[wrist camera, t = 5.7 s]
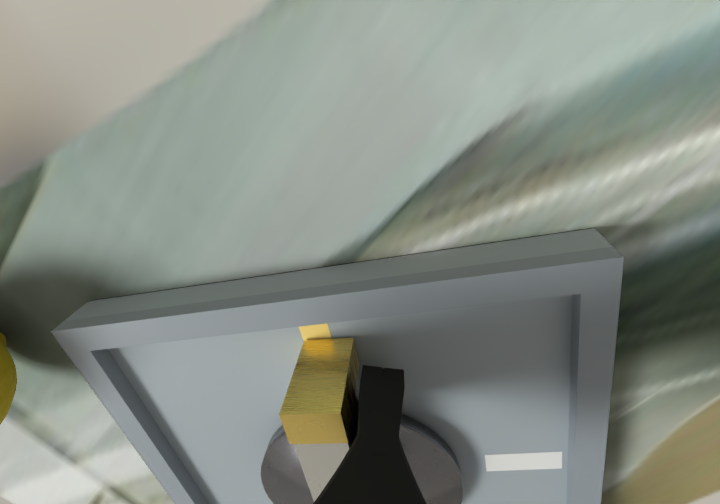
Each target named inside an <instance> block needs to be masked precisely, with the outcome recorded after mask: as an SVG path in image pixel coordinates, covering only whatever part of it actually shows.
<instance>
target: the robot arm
mask: <svg viewBox="0 0 720 504" xmlns="http://www.w3.org/2000/svg"><path fill="white" fill-rule="evenodd" d="M404 389H405V384H404V370H402V369H393V368H382V367H376V366H367V365H363V367H362V373H361V379H360V389H359V404H358V419H357V435H356V437H355V439H354V441H353V443H352V445H351V447H350V448H349V450H348V452H347V454H346V455H345V457H344V459H343V460H342V462H341V464H340V465H339V467H338V468H337V470H336V471H335V473H334V475H333V476H332V477H331V479H330V480H329V482H328V483H327V485H326V486H325V488H324V489H323V491H322V492H321V493H320V495H319V496H318V498H317V499H316V500H315V502H314V503H313V504H427V503H426V501H425V499H424V497H423V495H422V493H421V491H420V488H419V486H418V484H417V482H416V479H415V477H414V475H413V473H412V470H411V468H410V465H409V463H408V460H407V458H406V455H405V452H404V450H403V447H402V444H401V441H400V438H399V430H400V422H401V414H402V406H403V397H404Z"/></svg>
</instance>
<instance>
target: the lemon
mask: <svg viewBox="0 0 720 504" xmlns="http://www.w3.org/2000/svg"><path fill="white" fill-rule="evenodd" d="M16 384H17V376H16V368H15V364H14V362H13V359H12V357H11V355H10V353H9V352H8V350H7V349H6V337H5V336H4V335H3V334H2V333H1V332H0V424H1V423H2V421H3V420H4V418H5V417H6V415H7V413H8V411H9V409H10V406H11V403H12V400H13V397H14V394H15V391H16Z"/></svg>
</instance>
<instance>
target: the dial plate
mask: <svg viewBox="0 0 720 504" xmlns="http://www.w3.org/2000/svg"><path fill="white" fill-rule="evenodd" d="M623 264H624V256H623V255H621V254H620V253H619V252H618V251H617V250H616V249H615V248H614V247H613V246H612V245H611V244H610V243H609V242H608V241H607V240H606V239H605V238H604V237H603V236H602V235H601V234H600V233H599V232H598V231H597V230H596V229H595V228H592V229H585V230H578V231H571V232H564V233H557V234H551V235H544V236H537V237H530V238H523V239H516V240H509V241H502V242H495V243H488V244H482V245H475V246H468V247H461V248H454V249H447V250H440V251H433V252H426V253H419V254H412V255H406V256H399V257H392V258H385V259H378V260H371V261H364V262H357V263H350V264H343V265H336V266H330V267H323V268H316V269H309V270H302V271H295V272H288V273H281V274H274V275H267V276H261V277H254V278H247V279H240V280H233V281H226V282H219V283H212V284H205V285H198V286H191V287H185V288H178V289H171V290H164V291H157V292H150V293H143V294H136V295H129V296H122V297H116V298H109V299H102V300H95V301H88V302H87V303H85V304H84V305H83V306H82V307H80V308H79V309H78V310H77V311H75V312H74V313H73V314H72V315H70V316H69V317H68V318H67V319H66V320H64V321H63V322H62V323H61V324H59V325H58V326H57V327H56V328H54V329H53V330H52V331H51V333H52V335H53V336H54V337H55V339H56V340H57V342H58V343H59V344H60V346H61V347H62V348H63V350H64V351H65V353H66V354H67V355H68V357H69V358H70V359H71V361H72V362H73V364H74V365H75V366H76V368H77V369H78V371H79V372H80V373H81V375H82V376H83V377H84V379H85V380H86V382H87V383H88V384H89V386H90V387H91V389H92V390H93V391H94V393H95V394H96V395H97V397H98V398H99V400H100V401H101V402H102V404H103V405H104V407H105V408H106V409H107V411H108V412H109V413H110V415H111V416H112V418H113V419H114V420H115V422H116V423H117V425H118V426H119V427H120V429H121V430H122V431H123V433H124V434H125V436H126V437H127V438H128V440H129V441H130V443H131V444H132V445H133V447H134V448H135V449H136V451H137V452H138V454H139V455H140V456H141V458H142V459H143V461H144V462H145V463H146V465H147V466H148V467H149V469H150V470H151V472H152V473H153V474H154V476H155V477H156V479H157V480H158V481H159V483H160V484H161V485H162V487H163V488H164V490H165V491H166V492H167V494H168V495H169V497H170V498H171V499H172V501H173V502H174V503H175V504H273V502H272V501H271V500H270V499H269V497H268V495H267V494H266V492H265V490H264V487H263V484H262V481H261V465H262V462H263V458H264V455H265V452H266V450H267V447H268V444H269V441H270V439H271V438H272V436H273V434H274V433H275V432H276V431H277V430H278V428H279V427H281V426H282V422H281V419H280V417H279V413H280V410H281V407H282V404H283V401H284V398H285V395H286V392H287V389H288V387H289V384H290V381H291V378H292V375H293V372H294V369H295V366H296V363H297V360H298V357H299V354H300V351H301V348H302V345H303V342H304V340H321V339H338V338H354V342H355V347H356V351H357V356H358V361H359V372H360V377H361V373H362V367H363V365H367V366H376V367H382V368H393V369H402V370H404V384H405V389H404V397H403V406H402V414H403V415H405V416H408V417H410V418H413V419H415V420H417V421H419V422H420V423H422V424H424V425H426V426H427V427H429V428H430V429H432V430H433V431H435V432H436V433H437V434H438V435H439V436H440V437H442V438H443V439H444V440H445V441H446V443H447V444H448V445H449V446H450V447H451V449H452V450H453V452H454V454H455V455H456V457H457V460H458V463H459V466H460V472H461V479H462V486H463V499H462V503H461V504H601V496H602V486H603V475H604V465H605V454H606V443H607V433H608V422H609V412H610V401H611V391H612V380H613V369H614V359H615V348H616V338H617V327H618V317H619V306H620V295H621V285H622V274H623Z"/></svg>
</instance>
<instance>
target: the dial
mask: <svg viewBox="0 0 720 504" xmlns="http://www.w3.org/2000/svg"><path fill="white" fill-rule="evenodd" d="M360 379H361V377H360V372H359V361H358V356H357V351H356V347H355V342H354V338H338V339H321V340H304V342H303V345H302V348H301V351H300V354H299V357H298V360H297V363H296V366H295V369H294V372H293V375H292V378H291V381H290V384H289V387H288V389H287V392H286V395H285V398H284V401H283V404H282V407H281V410H280V413H279V417H280V419H281V422H282V426H281V427H279V428H278V430H277V431H276V432H275V433H274V434H273V436H272V438H271V439H270V441H269V444H268V447H267V450H266V452H265V455H264V458H263V462H262V465H261V481H262V484H263V487H264V490H265V492H266V494H267V495H268V497H269V499H270V500H271V501H272V502H273V504H313V503H314V502H315V500H316V499H317V498H318V496H319V495H320V493H321V492H322V491H323V489H324V488H325V486H326V485H327V483H328V482H329V480H330V479H331V477H332V476H333V475H334V473H335V471H336V470H337V468H338V467H339V465H340V464H341V462H342V460H343V459H344V457H345V455H346V454H347V452H348V450H349V448H350V447H351V445H352V443H353V441H354V439H355V437H356V435H357V419H358V404H359V389H360ZM399 438H400V441H401V444H402V447H403V450H404V452H405V455H406V458H407V460H408V463H409V465H410V468H411V470H412V473H413V475H414V477H415V479H416V482H417V484H418V486H419V488H420V491H421V493H422V495H423V497H424V499H425V501H426V503H427V504H461V503H462V499H463V486H462V479H461V472H460V466H459V463H458V460H457V457H456V455H455V454H454V452H453V450H452V449H451V447H450V446H449V445H448V444H447V443H446V441H445V440H444V439H443V438H442V437H440V436H439V435H438V434H437V433H436V432H435V431H433V430H432V429H430V428H429V427H427V426H426V425H424V424H422V423H420V422H419V421H417V420H415V419H413V418H410V417H408V416H405V415H403V414H401V422H400V430H399Z"/></svg>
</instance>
